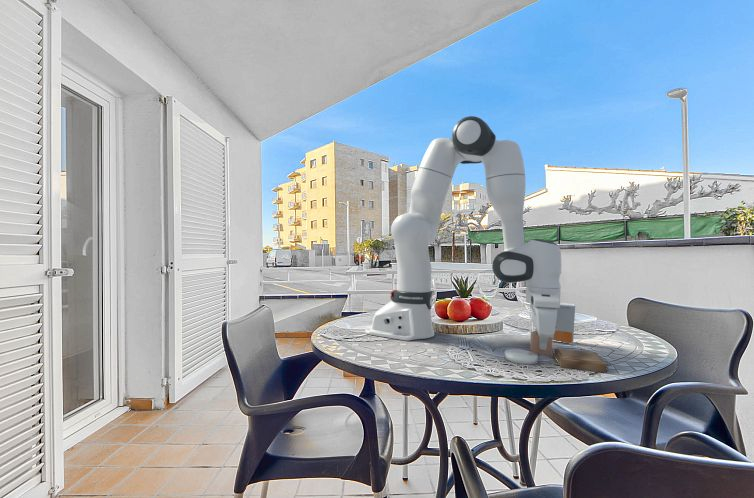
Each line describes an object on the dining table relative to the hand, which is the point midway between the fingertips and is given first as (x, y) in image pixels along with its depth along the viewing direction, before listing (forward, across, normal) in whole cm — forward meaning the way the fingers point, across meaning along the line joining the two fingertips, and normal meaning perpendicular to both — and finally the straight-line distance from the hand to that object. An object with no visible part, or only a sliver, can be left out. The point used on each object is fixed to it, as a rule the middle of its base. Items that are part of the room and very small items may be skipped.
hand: (540, 345), depth 105 cm
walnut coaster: (+2, +8, +8) cm, 11 cm away
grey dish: (+2, +10, -6) cm, 12 cm away
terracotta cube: (+2, 0, 0) cm, 2 cm away
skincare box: (+2, -14, +8) cm, 16 cm away
